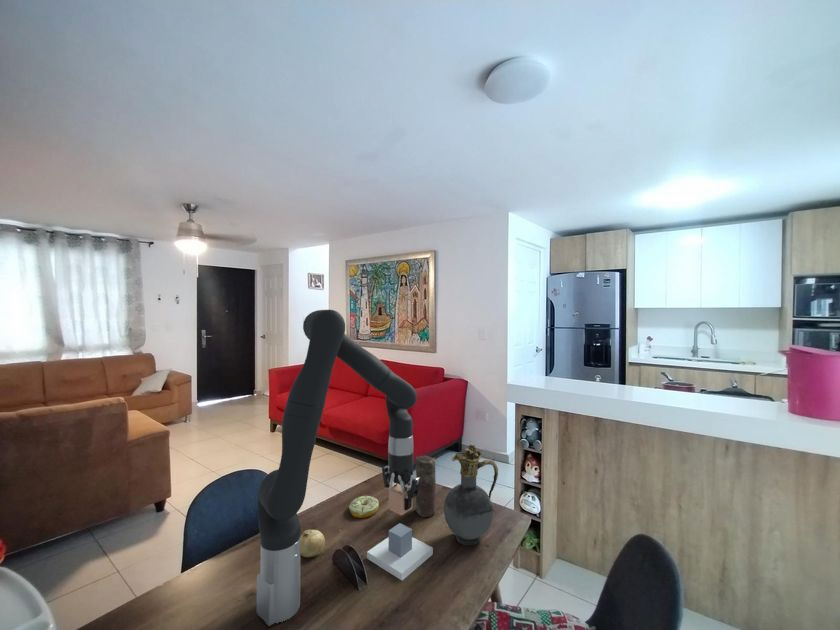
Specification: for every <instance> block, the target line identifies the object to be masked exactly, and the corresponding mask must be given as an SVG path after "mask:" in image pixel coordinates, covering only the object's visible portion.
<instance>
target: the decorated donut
mask: <svg viewBox="0 0 840 630" xmlns="http://www.w3.org/2000/svg"><path fill="white" fill-rule="evenodd" d="M379 505H380V503H379V500H378V499H377V498H376V497H374V496H370V495H362V496H358V497H356V498H355V499H352V501H351V502H350V504H349V506H348V509H349V513H350V514H351V515H352V516H353V517H354V518H358V519H363V518H365V519H366V518H367V517H368V518H369V517H371V516H374V515H375V514H376V513H377V511H378V510H379Z"/></svg>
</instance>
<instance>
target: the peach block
mask: <svg viewBox="0 0 840 630" xmlns="http://www.w3.org/2000/svg"><path fill="white" fill-rule="evenodd" d="M407 491H408V489H407ZM408 493H409V491H408ZM404 498H405V496H404V492H403V491H402V489H401V485H399V484H398V485H397V486H395V487H393V488H391V489H388V510H389V511H391V512H393V513H396V514H397V515H399V516H403V515H405V514H406V513H408V512H409V511H410V510H413V505H412V506H411V508H410V509H409V510H407V511H406V510H404Z"/></svg>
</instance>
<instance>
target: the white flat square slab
mask: <svg viewBox="0 0 840 630" xmlns="http://www.w3.org/2000/svg"><path fill="white" fill-rule="evenodd" d="M388 548H389V536H388V537H386V538H385V539H384V540H382V541H380V542H379V543H378V544H375V546H374V547H371V549H368V551H367V552H366V559H367V560H369V561H371V562H372V563H374V564H375V565H377V566H378V567H379V568H381V569H383V570H385V571H386V572H387V573H389V574H391V575H392V576H394V577H396V578H397V579H399V581H404V580H405V579H406V578H407V577H408V576H410V574H412V573H414V571H415V570H417V569H418V568H419V567H420V566H421V565H422V564H424V563H425V562H426V561H427V560H428V559H429V558H431V557H432V556H433V554H434V552H433V551H434V548H433V547H432V546H430V545H428V544H427V543H424V542H423V541H420V540H418V539H417V538H415V537H413V536H412V549H411V550H410V551H409V552H408V553H406V554H405V555H404V556H402V557H401V558H400V557H399V556H397V555H395V554H394V553H392V552H390V551H388Z"/></svg>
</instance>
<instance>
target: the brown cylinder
mask: <svg viewBox="0 0 840 630" xmlns="http://www.w3.org/2000/svg"><path fill="white" fill-rule="evenodd" d="M415 475H416V476H415V477H420V478H421V481H420V485H419V490H418V495H417V496H415V509H416V512H417V514H418V515H419V516H420V517H421V518H426V517H427V518H428V517H432V515H434V514H436V512H437V497H436V496H437V493H436V489H437V488H436V486H437V485H436V478H437V477H436V458H435V457H431V456H428V455H420V456H416V457H415Z"/></svg>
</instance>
